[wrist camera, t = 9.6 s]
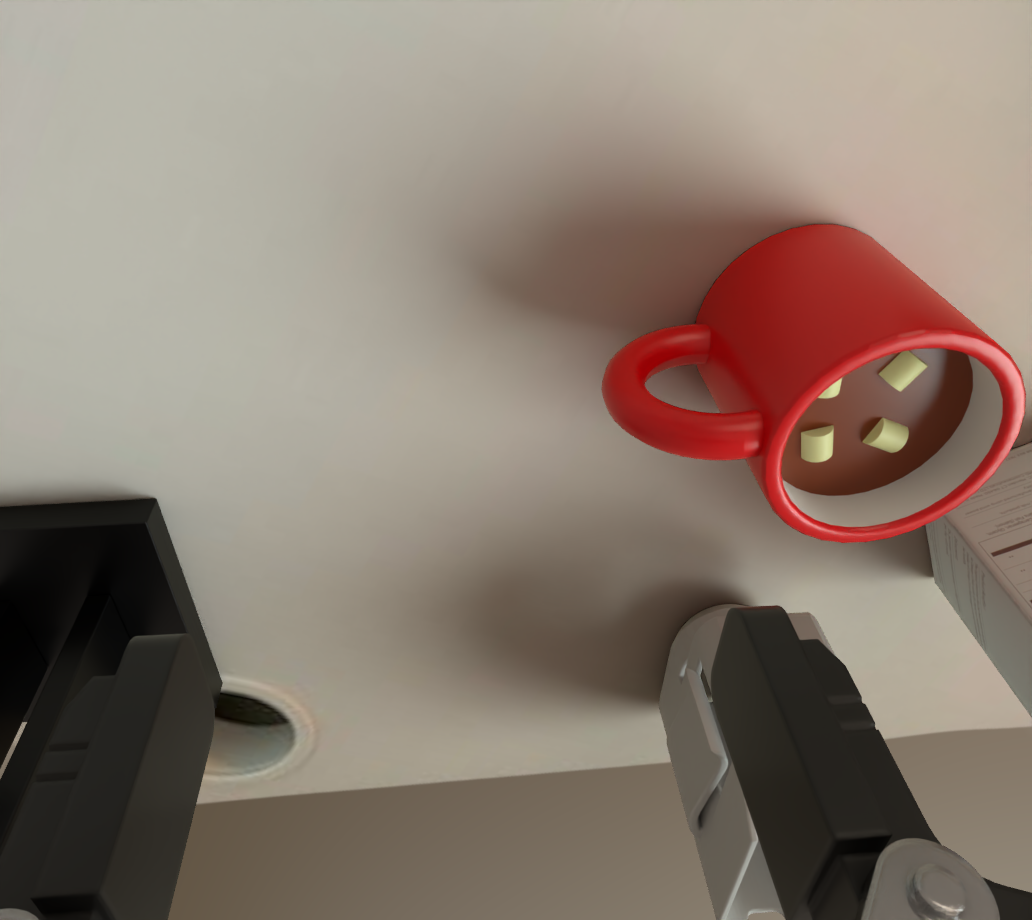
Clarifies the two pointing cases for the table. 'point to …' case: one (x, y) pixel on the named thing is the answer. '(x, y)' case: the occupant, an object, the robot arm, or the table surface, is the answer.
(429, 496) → the table surface
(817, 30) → the table surface
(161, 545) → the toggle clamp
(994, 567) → the white packaging box
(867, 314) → the mug
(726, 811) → the cable organizer
